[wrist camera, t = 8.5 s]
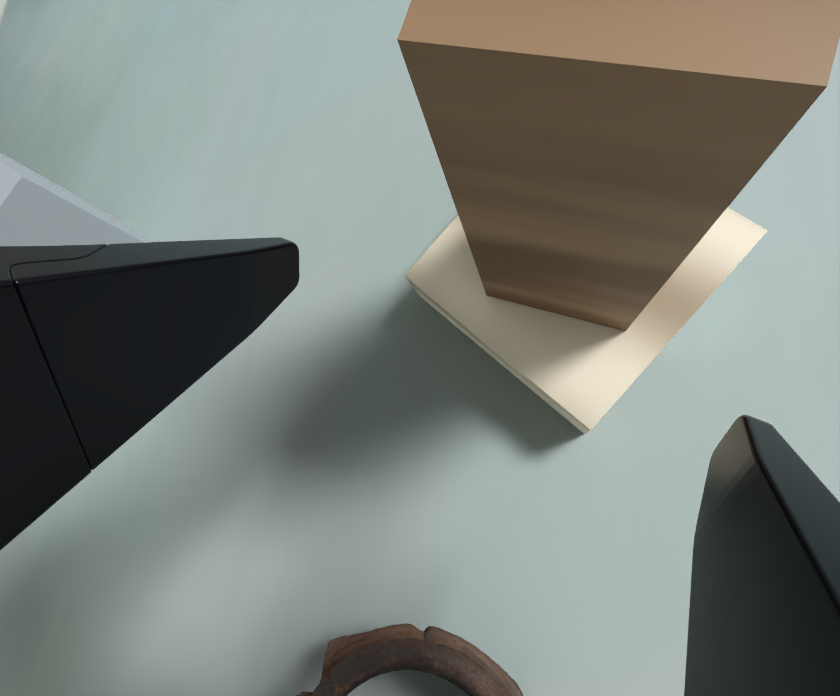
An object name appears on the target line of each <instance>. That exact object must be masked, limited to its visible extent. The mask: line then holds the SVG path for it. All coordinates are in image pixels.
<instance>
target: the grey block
mask: <svg viewBox="0 0 840 696" xmlns="http://www.w3.org/2000/svg"><path fill="white" fill-rule="evenodd" d="M147 242H151V241H149V240H148V239H146V238H145V237H143V236H142V235H141V234H139V233H138V232H136V231H135V230H133V229H132V228H131V227H129V226H128V225H126V224H125V223H124V222H122V221H121V220H119V219H117V218H115V217H113V216H112V215H110V214H108V213H106V212H105V211H103V210H101V209H99V208H97V207H96V206H94V205H92V204H90V203H89V202H87V201H85V200H83V199H81V198H80V197H78V196H76V195H74V194H73V193H71V192H69V191H67V190H65V189H64V188H62V187H60V186H58V185H57V184H55V183H53V182H51V181H49V180H48V179H46V178H44V177H42V176H41V175H39V174H37V173H35V172H33V171H32V170H30V169H28V168H26V167H25V166H23V165H21V164H19V163H17V162H16V161H14V160H12V159H10V158H9V157H7V156H5V155H3V154H1V153H0V246H61V245H93V244H106V245H109V244H121V243H147Z"/></svg>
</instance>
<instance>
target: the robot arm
mask: <svg viewBox="0 0 840 696" xmlns="http://www.w3.org/2000/svg"><path fill="white" fill-rule="evenodd" d="M298 281H299V249H298V247H297V245H296V244H295V243H294V242H291V241H289V240H286V239H283V238H252V239H226V240H200V241H174V242H147V243H121V244H109V245H106V244H93V245H61V246H0V550H1V549H2V548H4V547H5V546H6V545H7V544H8V543H9V542H11V541H12V540H13V539H14V538H15V537H16V536H18V535H19V534H20V533H21V532H22V531H23V530H25V529H26V528H27V527H28V526H29V525H30V524H31V523H33V522H34V521H35V520H36V519H37V518H38V517H40V516H41V515H42V514H43V513H44V512H45V511H47V510H48V509H49V508H50V507H51V506H52V505H54V504H55V503H56V502H57V501H58V500H59V499H61V498H62V497H63V496H64V495H65V494H66V493H67V492H69V491H70V490H71V489H72V488H73V487H74V486H76V485H77V484H78V483H79V482H80V481H81V480H83V479H84V478H85V477H86V476H87V475H88V474H90V473H91V470H93V469H95V468H96V467H97V466H98V465H99V464H101V463H102V462H103V461H104V460H105V459H106V458H108V457H109V456H110V455H111V454H112V453H113V452H115V451H116V450H117V449H118V448H119V447H120V446H122V445H123V444H124V443H125V442H126V441H127V440H129V439H130V438H131V437H132V436H133V435H134V434H135V433H137V432H138V431H139V430H140V429H141V428H142V427H144V426H145V425H146V424H147V423H148V422H149V421H151V420H152V419H153V418H154V417H155V416H156V415H158V414H159V413H160V412H161V411H162V410H163V409H165V408H166V407H167V406H168V405H169V404H170V403H172V402H173V401H174V400H175V399H176V398H177V397H179V396H180V395H181V394H182V393H183V392H184V391H185V390H187V389H188V388H189V387H190V386H191V385H192V384H194V383H195V382H196V381H197V380H198V379H199V378H201V377H202V376H203V375H204V374H205V373H206V372H208V371H209V370H210V369H211V368H212V367H213V366H215V365H216V364H217V363H218V362H219V361H220V360H222V359H223V358H224V357H225V356H226V355H227V354H229V353H230V352H231V351H232V350H233V349H234V348H235V347H237V346H238V345H239V344H240V343H241V342H242V341H244V340H245V339H246V338H247V337H248V336H249V335H250V334H252V333H253V332H254V331H255V330H256V329H257V328H258V327H259V326H260V325H261V324H262V323H263V322H264V321H265V320H266V318H267V317H268V316H269V315H270V314H271V313H272V312H273V311H274V310H275V309H276V308H277V307H278V306H279V305H280V304H281V303H282V302H283V300H284V299H285V298H286V297H287V296H288V295H289V294H290V293H291V292H292V291H293V290H294V289H295V288H296V286H297V284H298ZM684 696H840V502H839V501H838V500H837V499H836V498H835V497H834V495H833V494H832V493H831V492H830V491H829V490H828V489H827V487H826V486H825V485H824V484H823V483H822V482H821V481H820V479H819V478H818V477H817V476H816V475H815V474H814V473H813V471H812V470H811V469H810V468H809V467H808V466H807V465H806V464H805V462H804V461H803V460H802V459H801V458H800V457H799V456H798V454H797V453H796V452H795V451H794V450H793V449H792V448H791V446H790V445H789V444H788V443H787V442H786V441H785V440H784V438H783V437H782V436H781V435H780V434H779V433H778V432H777V431H776V429H775V428H774V427H773V426H772V425H771V424H769V423H767V422H764V421H761V420H759V419H756V418H753V417H751V416H748V415H742V416H740V417H739V418H738V419H736V421H735V422H734V423H733V425H732V426H731V428H730V429H729V430H728V432H727V433H726V434H725V436H724V437H723V439H722V440H721V441H720V443H719V444H718V446H717V447H716V448H715V450H714V452H713V454H712V457H711V459H710V463H709V468H708V473H707V478H706V482H705V487H704V492H703V497H702V501H701V506H700V511H699V515H698V520H697V525H696V530H695V536H694V546H693V560H692V576H691V593H690V609H689V626H688V642H687V658H686V675H685V691H684Z"/></svg>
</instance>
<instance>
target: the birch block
mask: <svg viewBox="0 0 840 696" xmlns="http://www.w3.org/2000/svg"><path fill="white" fill-rule="evenodd" d="M766 232H767V230H766V229H764V228H762V227H760V226H759V225H757V224H755V223H753V222H752V221H750V220H748V219H746V218H745V217H743V216H741V215H740V214H738V213H736V212H734V211H733V210H731V209H729V208H727V209H726V210H725V211H724V212H723V213H722V215H721V216H720V217H719V218H718V219H717V221H716V222H715V223H714V224H713V226H712V227H711V228H710V229H709V230H708V232H707V233H706V234H705V235H704V236H703V238H702V239H701V240H700V241H699V243H698V244H697V245H696V246H695V247H694V249H693V250H692V251H691V252H690V254H689V255H688V256H687V257H686V258H685V260H684V261H683V262H682V263H681V264H680V266H679V267H678V268H677V269H676V271H675V272H674V273H673V274H672V275H671V277H670V278H669V279H668V280H667V282H666V283H665V284H664V285H663V286H662V288H661V289H660V290H659V291H658V292H657V294H656V295H655V296H654V297H653V299H652V300H651V301H650V302H649V303H648V305H647V306H646V307H645V308H644V309H643V311H642V312H641V313H640V314H639V316H638V317H637V318H636V319H635V320H634V322H633V323H632V324H631V325H630V327H629V328H628V329H627V330H626V331H622V330H619V329H615V328H611V327H607V326H603V325H599V324H595V323H591V322H587V321H584V320H580V319H576V318H572V317H568V316H564V315H560V314H556V313H552V312H549V311H545V310H541V309H537V308H533V307H529V306H525V305H521V304H517V303H513V302H510V301H506V300H502V299H498V298H494V297H490V296H486V293H485V290H484V287H483V284H482V281H481V278H480V275H479V273H478V270H477V267H476V264H475V261H474V258H473V255H472V252H471V250H470V247H469V244H468V241H467V238H466V235H465V232H464V230H463V227H462V224H461V221H460V218H459V215H458V216H457V217H456V218H455V219H454V220H453V222H452V223H451V224H450V225H449V226H448V227H447V228H446V229H445V231H444V232H443V233H442V234H441V235H440V236H439V237H438V238H437V239H436V241H435V242H434V243H433V244H432V245H431V246H430V247H429V248H428V249H427V251H426V252H425V253H424V254H423V255H422V256H421V257H420V258H419V260H418V261H417V262H416V263H415V264H414V265H413V266H412V267H411V268H410V270H409V271H408V272H407V273H406V274H405V277H406V278H407V280H408V281H409V282H410V284H411V285H412V286H413V288H414V289H415V290H416V292H417V293H418V294H419V296H420V297H421V298H422V299H424V300H425V301H426V302H427V303H428V304H430V305H431V306H432V307H433V308H434V309H436V310H437V311H438V312H439V313H440V314H442V315H443V316H444V317H445V318H446V319H448V320H449V321H450V322H451V323H452V324H453V325H455V326H456V327H457V328H458V329H459V330H461V331H462V332H463V333H464V334H465V335H467V336H468V337H469V338H470V339H471V340H473V341H474V342H475V343H476V344H477V345H479V346H480V347H481V348H482V349H483V350H484V351H486V352H487V353H488V354H489V355H490V356H492V357H493V358H494V359H495V360H496V361H498V362H499V363H500V364H501V365H502V366H504V367H505V368H506V369H507V370H508V371H509V372H511V373H512V374H513V375H514V376H515V377H517V378H518V379H519V380H520V381H521V382H523V383H524V384H525V385H526V386H527V387H529V388H530V389H531V390H532V391H533V392H535V393H536V394H537V395H538V396H539V397H540V398H542V399H543V400H544V401H545V402H546V403H548V404H549V405H550V406H551V407H552V408H554V409H555V410H556V411H557V412H558V413H560V414H561V415H562V416H563V417H564V418H566V419H567V420H568V421H569V422H570V423H571V424H573V425H574V426H575V427H576V428H577V429H579V430H580V431H581V432H582V433H583V434H585V433H587V432H588V431H590V430H591V429H592V428H593V427H594V426H595V424H596V423H597V422H598V421H599V420H600V419H601V418H602V417H603V415H604V414H605V413H606V412H607V411H608V410H609V409H610V408H611V406H612V405H613V404H614V403H615V402H616V401H617V400H618V399H619V397H620V396H621V395H622V394H623V393H624V392H625V391H626V390H627V388H628V387H629V386H630V385H631V384H632V383H633V382H634V381H635V379H636V378H637V377H638V376H639V375H640V374H641V373H642V372H643V370H644V369H645V368H646V367H647V366H648V365H649V364H650V363H651V361H652V360H653V359H654V358H655V357H656V356H657V355H658V354H659V352H660V351H661V350H662V349H663V348H664V347H665V346H666V345H667V343H668V342H669V341H670V340H671V339H672V338H673V337H674V336H675V334H676V333H677V332H678V331H679V330H680V329H681V328H682V327H683V325H684V324H685V323H686V322H687V321H688V320H689V319H690V318H691V316H692V315H693V314H694V313H695V312H696V311H697V310H698V309H699V307H700V306H701V305H702V304H703V303H704V302H705V301H706V300H707V298H708V297H709V296H710V295H711V294H712V293H713V292H714V291H715V289H716V288H717V287H718V286H719V285H720V284H721V283H722V282H723V280H724V279H725V278H726V277H727V276H728V275H729V274H730V273H731V271H732V270H733V269H734V268H735V267H736V266H737V265H738V264H739V262H740V261H741V260H742V259H743V258H744V257H745V256H746V255H747V253H748V252H749V251H750V250H751V249H752V248H753V247H754V246H755V244H756V243H757V242H758V241H759V240H760V239H761V238H762V237H763V235H764V234H765V233H766Z"/></svg>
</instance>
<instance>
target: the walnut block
mask: <svg viewBox="0 0 840 696" xmlns="http://www.w3.org/2000/svg"><path fill="white" fill-rule="evenodd" d="M839 37H840V0H412V1H411V4H410V6H409V9H408V12H407V15H406V17H405V20H404V23H403V26H402V28H401V31H400V34H399V37H398V39H397V40H398V43H399V46H400V49H401V52H402V54H403V57H404V60H405V63H406V66H407V69H408V72H409V74H410V77H411V80H412V83H413V86H414V89H415V92H416V95H417V97H418V100H419V103H420V106H421V109H422V112H423V115H424V118H425V120H426V123H427V126H428V129H429V132H430V135H431V138H432V141H433V143H434V146H435V149H436V152H437V155H438V158H439V161H440V163H441V166H442V169H443V172H444V175H445V178H446V181H447V184H448V186H449V189H450V192H451V195H452V198H453V201H454V204H455V207H456V209H457V212H458V215H459V218H460V221H461V224H462V227H463V230H464V232H465V235H466V238H467V241H468V244H469V247H470V250H471V252H472V255H473V258H474V261H475V264H476V267H477V270H478V273H479V275H480V278H481V281H482V284H483V287H484V290H485V293H486V296H490V297H494V298H498V299H502V300H506V301H510V302H513V303H517V304H521V305H525V306H529V307H533V308H537V309H541V310H545V311H549V312H552V313H556V314H560V315H564V316H568V317H572V318H576V319H580V320H584V321H587V322H591V323H595V324H599V325H603V326H607V327H611V328H615V329H619V330H622V331H626V330H627V329H628V328H629V327H630V325H631V324H632V323H633V322H634V320H635V319H636V318H637V317H638V316H639V314H640V313H641V312H642V311H643V309H644V308H645V307H646V306H647V305H648V303H649V302H650V301H651V300H652V299H653V297H654V296H655V295H656V294H657V292H658V291H659V290H660V289H661V288H662V286H663V285H664V284H665V283H666V282H667V280H668V279H669V278H670V277H671V275H672V274H673V273H674V272H675V271H676V269H677V268H678V267H679V266H680V264H681V263H682V262H683V261H684V260H685V258H686V257H687V256H688V255H689V254H690V252H691V251H692V250H693V249H694V247H695V246H696V245H697V244H698V243H699V241H700V240H701V239H702V238H703V236H704V235H705V234H706V233H707V232H708V230H709V229H710V228H711V227H712V226H713V224H714V223H715V222H716V221H717V219H718V218H719V217H720V216H721V215H722V213H723V212H724V211H725V210H726V209H727V207H728V206H729V205H730V204H731V202H732V201H733V200H734V199H735V198H736V196H737V195H738V194H739V193H740V191H741V190H742V189H743V188H744V187H745V185H746V184H747V183H748V182H749V181H750V179H751V178H752V177H753V176H754V174H755V173H756V172H757V171H758V170H759V168H760V167H761V166H762V165H763V164H764V162H765V161H766V160H767V159H768V157H769V156H770V155H771V154H772V153H773V151H774V150H775V149H776V148H777V146H778V145H779V144H780V143H781V142H782V140H783V139H784V138H785V137H786V136H787V134H788V133H789V132H790V131H791V129H792V128H793V127H794V126H795V125H796V123H797V122H798V121H799V120H800V119H801V117H802V116H803V115H804V114H805V112H806V111H807V110H808V109H809V108H810V106H811V105H812V104H813V103H814V101H815V100H816V99H817V98H818V97H819V95H820V94H821V93H822V92H823V91H824V89H825V88H826V87H827V84H828V80H829V76H830V73H831V69H832V65H833V61H834V57H835V53H836V49H837V45H838V41H839Z"/></svg>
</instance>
